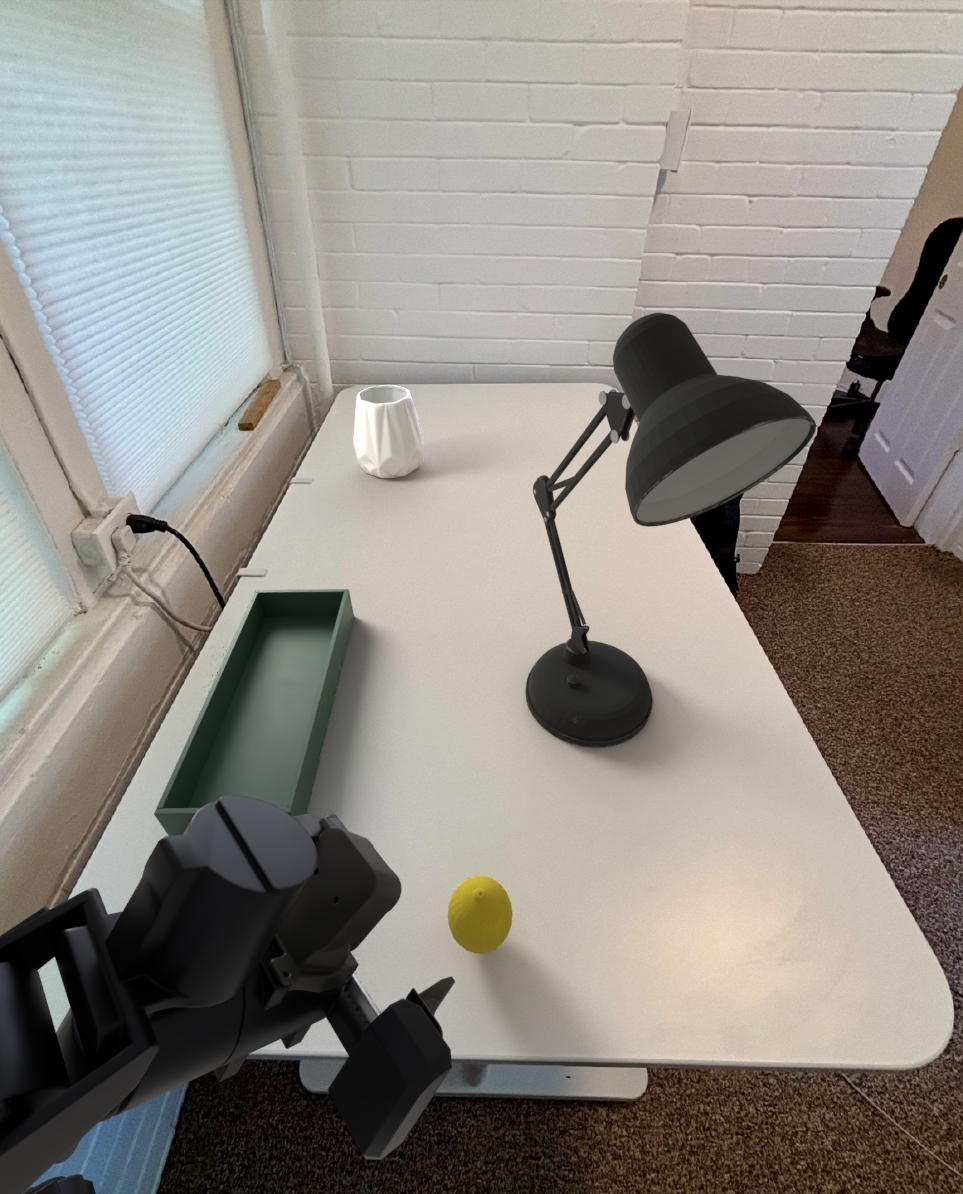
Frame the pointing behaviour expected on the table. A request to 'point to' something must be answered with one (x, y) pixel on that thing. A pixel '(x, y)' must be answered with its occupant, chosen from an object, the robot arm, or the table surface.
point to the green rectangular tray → (265, 707)
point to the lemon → (480, 914)
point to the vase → (387, 432)
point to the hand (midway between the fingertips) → (408, 928)
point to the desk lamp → (655, 501)
